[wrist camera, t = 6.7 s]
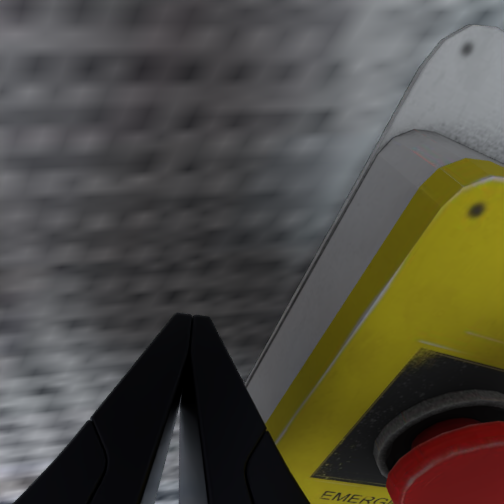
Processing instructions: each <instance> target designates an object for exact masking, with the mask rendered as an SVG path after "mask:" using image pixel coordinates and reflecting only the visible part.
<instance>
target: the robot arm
mask: <svg viewBox="0 0 504 504" xmlns="http://www.w3.org/2000/svg"><path fill="white" fill-rule="evenodd" d="M180 399H181V402H180ZM179 404H180V434H179V504H311V503H310V502H309V500H308V499H307V497H306V496H305V494H304V492H303V491H302V489H301V488H300V486H299V484H298V483H297V481H296V480H295V478H294V476H293V475H292V473H291V472H290V470H289V468H288V466H287V464H286V463H285V461H284V459H283V457H282V455H281V454H280V452H279V450H278V448H277V446H276V444H275V442H274V440H273V438H272V436H271V434H270V433H269V431H266V430H267V427H266V425H265V423H264V421H263V419H262V417H261V415H260V413H259V412H258V410H257V408H256V406H255V404H254V402H253V400H252V398H251V396H250V394H249V392H248V390H247V388H246V386H245V384H244V382H243V380H242V379H241V377H240V375H239V373H238V371H237V369H236V367H235V365H234V363H233V361H232V359H231V357H230V355H229V353H228V351H227V349H226V347H225V346H224V344H223V342H222V340H221V338H220V336H219V334H218V332H217V330H216V328H215V326H214V324H213V322H212V320H211V319H210V317H208V316H200V315H194V316H193V318H192V315H191V314H183V313H176V314H175V315H174V316H173V317H172V318H171V319H170V321H169V322H168V323H167V324H166V325H165V327H164V328H163V329H162V330H161V332H160V333H159V334H158V335H157V337H156V338H155V339H154V340H153V341H152V343H151V344H150V345H149V346H148V348H147V349H146V350H145V351H144V352H143V354H142V355H141V356H140V357H139V359H138V360H137V361H136V362H135V363H134V365H133V366H132V367H131V368H130V370H129V371H128V372H127V373H126V375H125V376H124V377H123V378H122V379H121V381H120V382H119V383H118V384H117V386H116V387H115V388H114V389H113V390H112V392H111V393H110V394H109V395H108V397H107V398H106V399H105V400H104V401H103V403H102V404H101V405H100V406H99V408H98V409H97V410H96V411H95V413H94V414H93V415H92V416H91V418H90V420H88V421H87V422H86V423H85V424H84V426H83V427H82V428H81V429H80V431H79V432H78V433H77V434H76V436H75V437H74V438H73V439H72V440H71V441H70V443H69V444H68V445H67V446H66V447H65V448H64V450H63V451H62V452H61V453H60V454H59V455H58V456H57V458H56V459H55V460H54V461H53V462H52V463H51V464H50V465H49V467H48V468H47V469H46V470H45V471H44V472H43V473H42V474H41V475H40V476H39V477H38V478H37V479H36V480H35V481H34V482H33V483H32V484H31V485H30V486H29V487H28V489H27V490H26V491H25V492H24V493H23V494H22V495H21V496H20V497H19V498H18V499H17V500H16V501H15V502H14V503H13V504H154V503H155V499H156V495H157V491H158V488H159V484H160V480H161V476H162V472H163V468H164V464H165V460H166V456H167V453H168V449H169V445H170V441H171V437H172V433H173V429H174V425H175V421H176V418H177V413H178V409H179Z"/></svg>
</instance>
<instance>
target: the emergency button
mask: <svg viewBox="0 0 504 504" xmlns="http://www.w3.org/2000/svg"><path fill="white" fill-rule="evenodd" d="M245 386H246V388H247V390H248V392H249V394H250V396H251V398H252V400H253V402H254V404H255V406H256V408H257V410H258V412H259V413H260V415H261V417H262V419H263V421H264V423H265V425H266V427H267V430H266V431H269V433H270V434H271V436H272V438H273V440H274V442H275V444H276V446H277V448H278V450H279V452H280V454H281V455H282V457H283V459H284V461H285V463H286V464H287V466H288V468H289V470H290V472H291V473H292V475H293V476H294V478H295V480H296V481H297V483H298V484H299V486H300V488H301V489H302V491H303V492H304V494H305V496H306V497H307V499H308V500H309V502H310V503H311V504H504V31H503V30H502V29H500V28H498V27H492V26H482V25H467V26H465V27H464V28H462V29H460V30H458V31H456V32H455V33H453V34H451V35H449V36H448V37H446V38H444V39H442V40H441V41H440V42H439V43H438V45H437V46H436V47H435V48H434V50H433V51H432V52H431V53H430V55H429V56H428V57H427V59H426V60H425V61H424V62H423V64H422V65H421V66H420V67H419V69H418V71H417V73H416V75H415V76H414V78H413V80H412V82H411V84H410V85H409V87H408V89H407V91H406V93H405V94H404V96H403V98H402V100H401V102H400V103H399V105H398V107H397V109H396V111H395V113H394V114H393V116H392V118H391V120H390V122H389V123H388V125H387V127H386V129H385V131H384V132H383V134H382V136H381V138H380V140H379V141H378V143H377V145H376V147H375V149H374V151H373V152H372V154H371V156H370V158H369V160H368V161H367V163H366V165H365V167H364V169H363V170H362V172H361V174H360V176H359V178H358V179H357V181H356V183H355V185H354V187H353V189H352V190H351V192H350V194H349V196H348V198H347V199H346V201H345V203H344V205H343V207H342V208H341V210H340V212H339V214H338V216H337V217H336V219H335V221H334V223H333V225H332V226H331V228H330V230H329V232H328V234H327V236H326V237H325V239H324V241H323V243H322V245H321V246H320V248H319V250H318V252H317V254H316V255H315V257H314V259H313V261H312V263H311V264H310V266H309V268H308V270H307V272H306V274H305V275H304V277H303V279H302V281H301V283H300V284H299V286H298V288H297V290H296V292H295V293H294V295H293V297H292V299H291V301H290V302H289V304H288V306H287V308H286V310H285V312H284V313H283V315H282V317H281V319H280V321H279V322H278V324H277V326H276V328H275V330H274V331H273V333H272V335H271V337H270V339H269V340H268V342H267V344H266V346H265V348H264V350H263V351H262V353H261V355H260V357H259V359H258V360H257V362H256V364H255V366H254V368H253V369H252V371H251V373H250V375H249V377H248V378H247V380H246V382H245Z"/></svg>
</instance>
